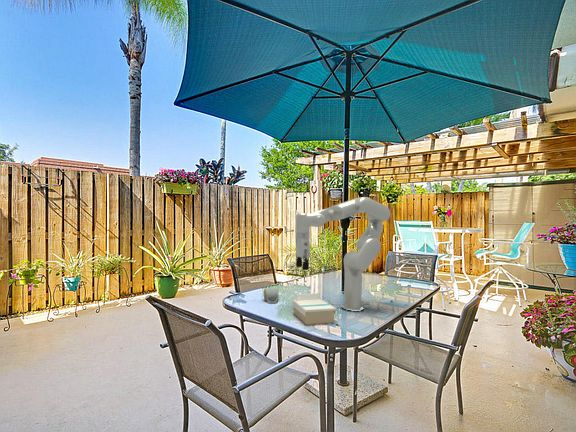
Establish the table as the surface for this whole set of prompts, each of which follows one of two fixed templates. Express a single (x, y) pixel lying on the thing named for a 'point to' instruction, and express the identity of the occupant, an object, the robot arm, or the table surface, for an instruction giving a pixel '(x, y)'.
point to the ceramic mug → (271, 295)
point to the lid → (311, 303)
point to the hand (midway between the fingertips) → (302, 268)
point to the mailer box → (315, 317)
